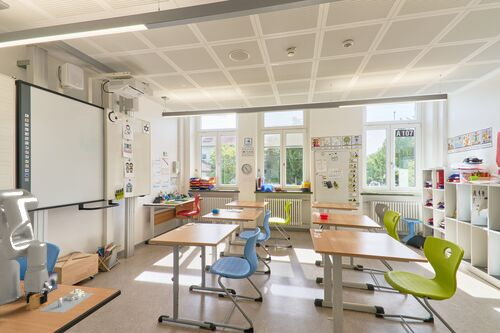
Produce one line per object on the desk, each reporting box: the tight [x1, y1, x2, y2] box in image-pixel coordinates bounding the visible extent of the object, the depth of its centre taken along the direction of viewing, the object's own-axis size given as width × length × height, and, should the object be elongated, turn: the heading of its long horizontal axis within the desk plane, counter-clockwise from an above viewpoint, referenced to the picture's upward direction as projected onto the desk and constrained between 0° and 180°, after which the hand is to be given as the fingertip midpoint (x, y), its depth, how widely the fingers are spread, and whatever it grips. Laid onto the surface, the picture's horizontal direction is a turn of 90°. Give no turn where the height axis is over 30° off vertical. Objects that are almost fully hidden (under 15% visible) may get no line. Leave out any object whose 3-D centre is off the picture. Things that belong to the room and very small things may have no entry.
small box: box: [33, 270, 59, 295], centre depth 134 cm, size 11×6×10 cm, turn 168°
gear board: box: [39, 288, 95, 314], centre depth 122 cm, size 14×18×5 cm
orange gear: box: [25, 293, 48, 311], centre depth 120 cm, size 8×8×6 cm
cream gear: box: [66, 288, 85, 301], centre depth 127 cm, size 8×8×3 cm
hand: (36, 302), depth 119 cm, fingers open, 7 cm apart
